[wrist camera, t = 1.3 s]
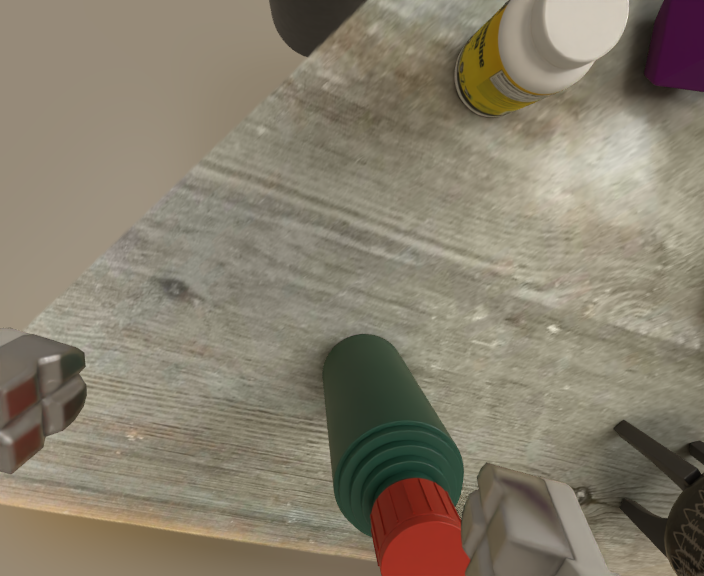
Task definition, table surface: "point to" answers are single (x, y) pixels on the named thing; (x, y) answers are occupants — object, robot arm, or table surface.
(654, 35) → the purple faceted vase
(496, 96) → the pill bottle
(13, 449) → the robot arm
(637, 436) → the planter
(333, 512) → the table surface
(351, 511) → the water bottle
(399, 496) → the cap
